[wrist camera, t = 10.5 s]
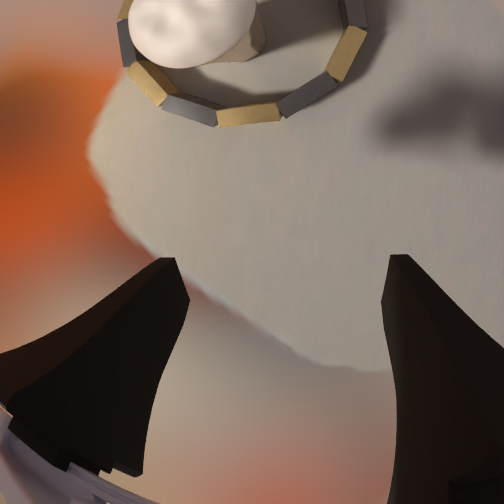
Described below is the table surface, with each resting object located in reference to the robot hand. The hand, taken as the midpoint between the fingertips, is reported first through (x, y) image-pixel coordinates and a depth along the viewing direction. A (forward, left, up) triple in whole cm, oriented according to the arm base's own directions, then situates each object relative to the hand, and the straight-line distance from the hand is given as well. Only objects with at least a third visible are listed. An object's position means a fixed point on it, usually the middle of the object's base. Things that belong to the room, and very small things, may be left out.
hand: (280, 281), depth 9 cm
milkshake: (+2, -10, -10) cm, 14 cm away
